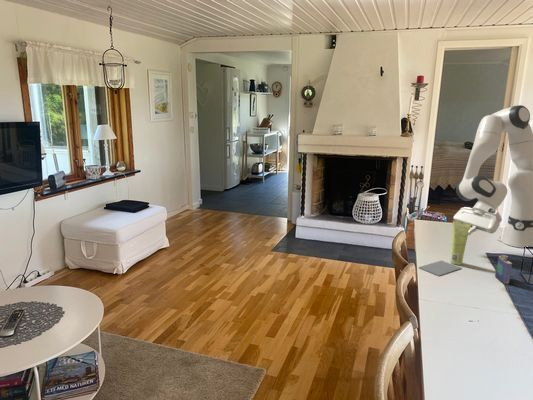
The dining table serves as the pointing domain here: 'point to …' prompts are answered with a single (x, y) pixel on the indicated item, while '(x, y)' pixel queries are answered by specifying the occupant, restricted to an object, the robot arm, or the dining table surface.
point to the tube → (459, 241)
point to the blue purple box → (503, 269)
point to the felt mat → (440, 268)
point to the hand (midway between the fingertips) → (466, 233)
